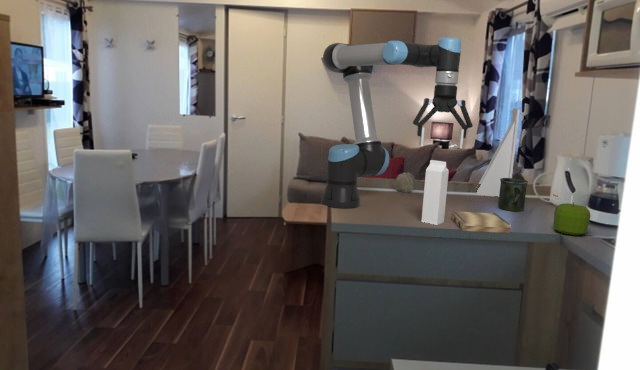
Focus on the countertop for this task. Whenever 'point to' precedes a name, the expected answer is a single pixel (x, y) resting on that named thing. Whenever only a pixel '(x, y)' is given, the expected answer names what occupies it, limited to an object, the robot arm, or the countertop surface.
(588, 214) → the apple
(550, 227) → the countertop surface
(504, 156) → the white bracket plate
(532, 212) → the countertop surface
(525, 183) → the mug
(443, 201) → the milk
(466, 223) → the dock
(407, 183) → the grey-green ball
